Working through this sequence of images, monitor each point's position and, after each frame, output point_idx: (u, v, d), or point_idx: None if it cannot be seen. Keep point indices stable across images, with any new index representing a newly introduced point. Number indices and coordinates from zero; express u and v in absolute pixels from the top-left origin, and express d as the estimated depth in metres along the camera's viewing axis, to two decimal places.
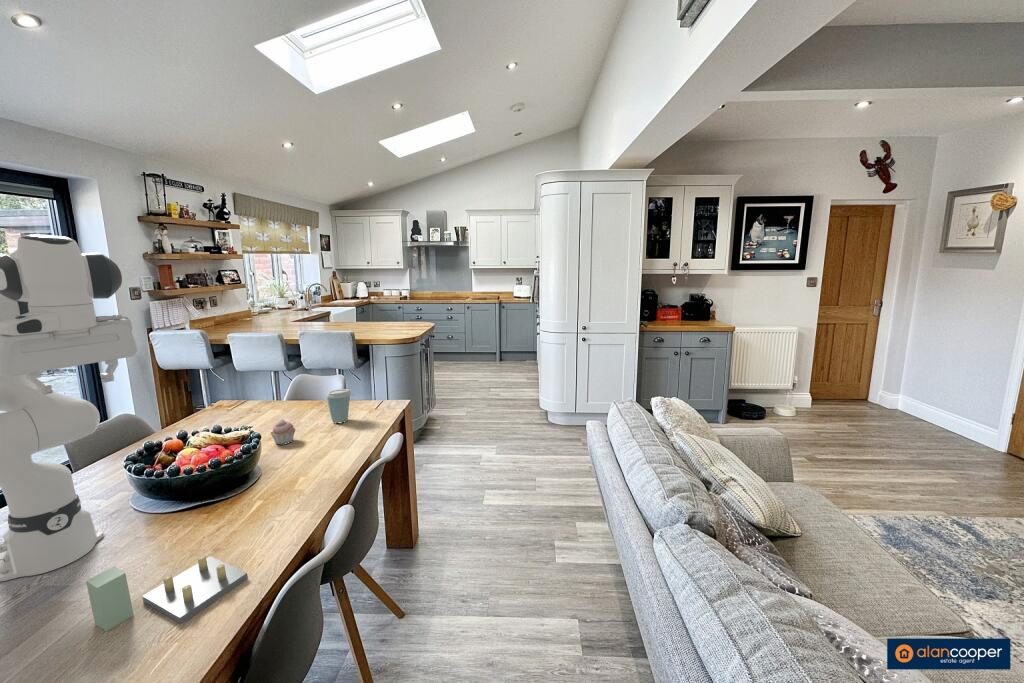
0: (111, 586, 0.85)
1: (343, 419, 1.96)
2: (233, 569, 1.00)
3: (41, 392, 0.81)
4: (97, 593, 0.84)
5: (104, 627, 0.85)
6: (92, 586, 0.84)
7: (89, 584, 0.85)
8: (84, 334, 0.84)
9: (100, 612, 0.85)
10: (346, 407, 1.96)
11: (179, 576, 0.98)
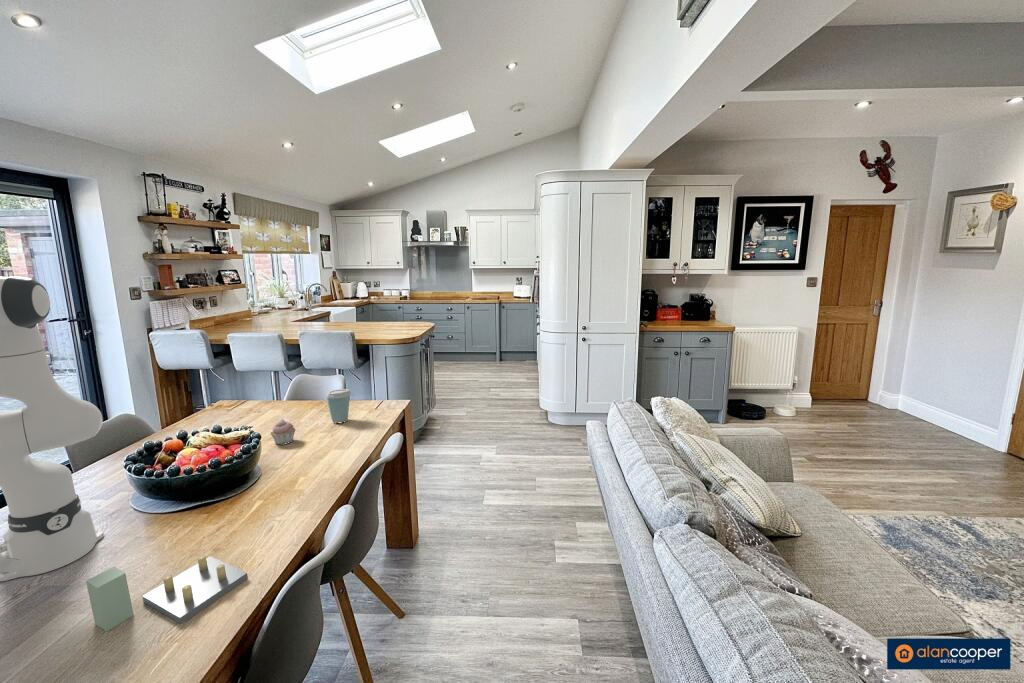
0: (111, 586, 0.85)
1: (343, 419, 1.96)
2: (233, 569, 1.00)
3: None
4: (97, 593, 0.84)
5: (104, 627, 0.85)
6: (92, 586, 0.84)
7: (89, 584, 0.85)
8: None
9: (100, 612, 0.85)
10: (346, 407, 1.96)
11: (179, 576, 0.98)
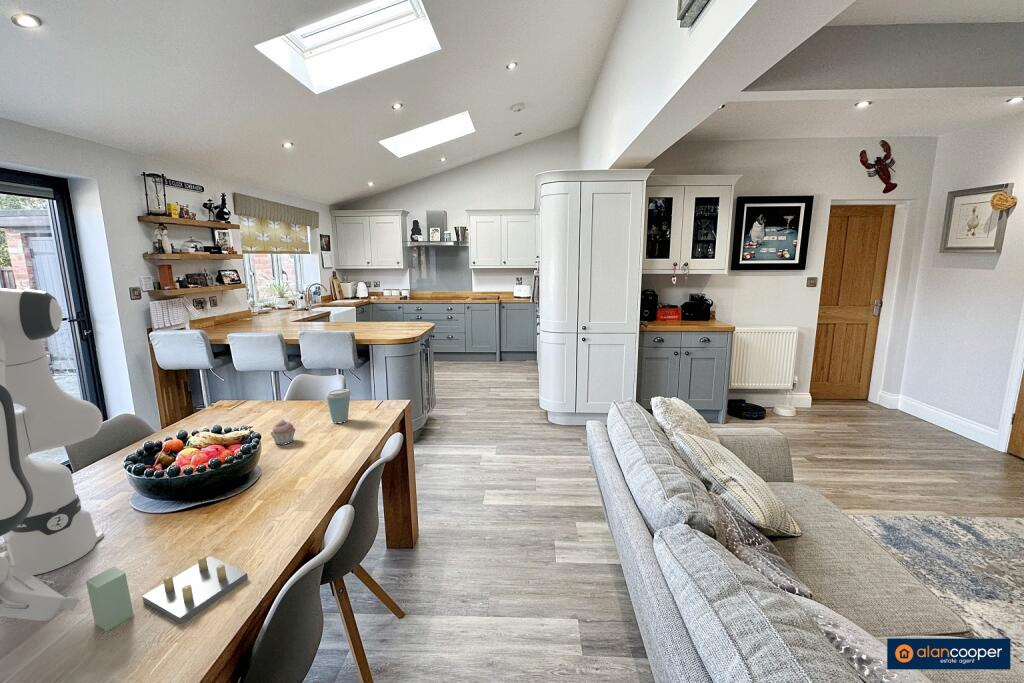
0: (111, 586, 0.85)
1: (343, 419, 1.96)
2: (233, 569, 1.00)
3: None
4: (97, 593, 0.84)
5: (104, 627, 0.85)
6: (92, 586, 0.84)
7: (89, 584, 0.85)
8: None
9: (100, 612, 0.85)
10: (346, 407, 1.96)
11: (179, 576, 0.98)
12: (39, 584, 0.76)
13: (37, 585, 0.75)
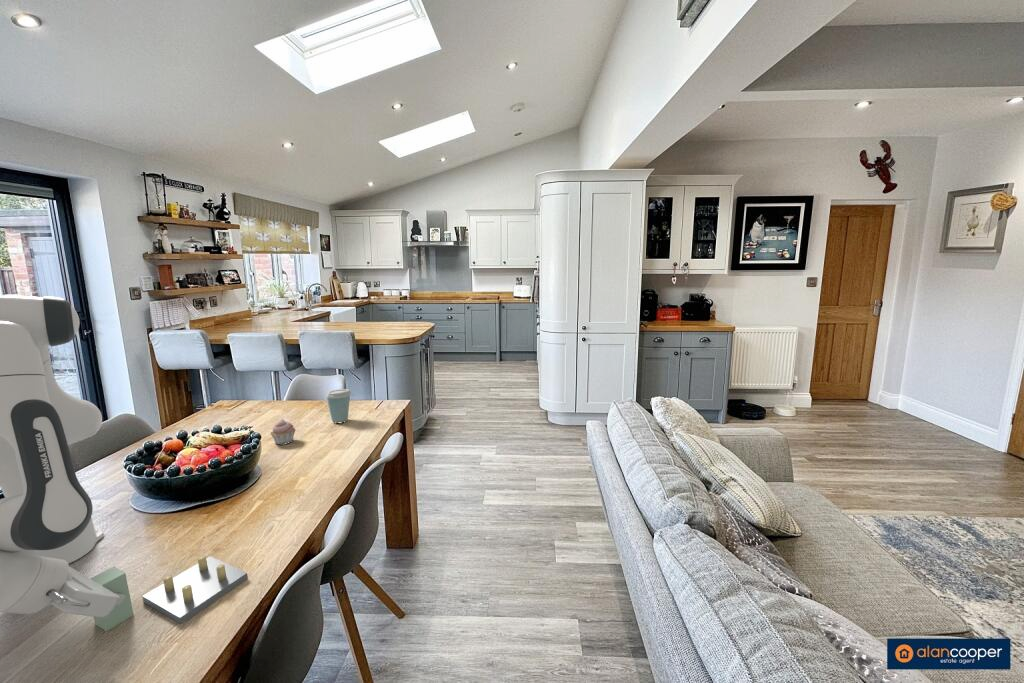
0: (111, 586, 0.85)
1: (343, 419, 1.96)
2: (233, 569, 1.00)
3: None
4: None
5: (104, 627, 0.85)
6: None
7: None
8: (46, 606, 0.77)
9: None
10: (346, 407, 1.96)
11: (179, 576, 0.98)
12: (95, 584, 0.83)
13: (93, 585, 0.82)
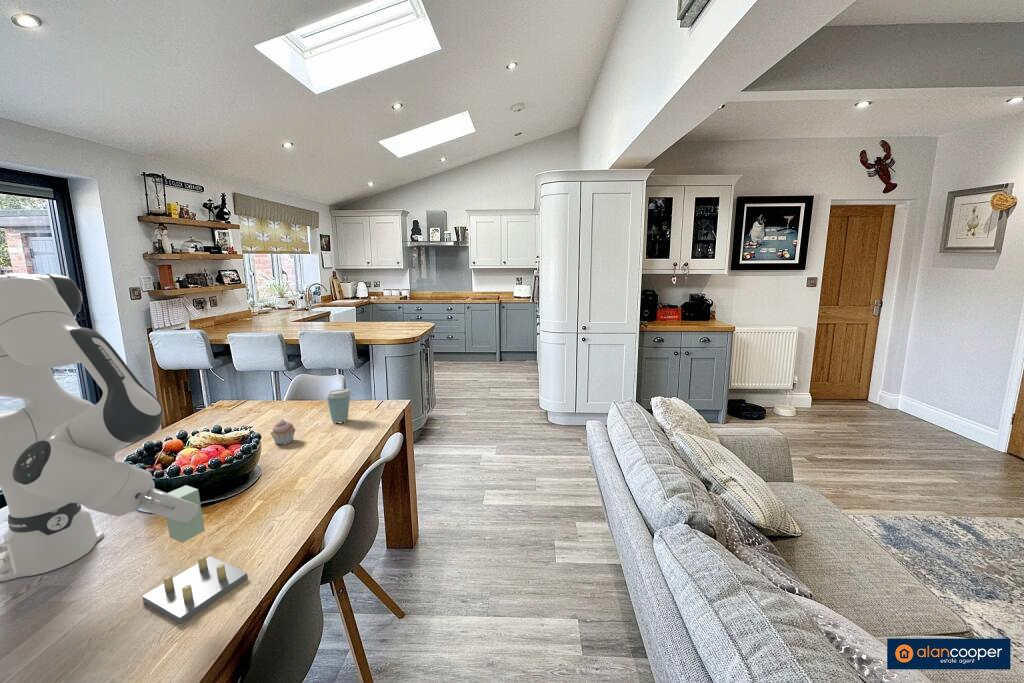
0: None
1: (343, 419, 1.96)
2: (233, 569, 1.00)
3: None
4: None
5: (180, 539, 0.90)
6: None
7: None
8: (133, 511, 0.83)
9: (176, 524, 0.90)
10: (346, 407, 1.96)
11: (179, 576, 0.98)
12: (173, 495, 0.88)
13: (173, 495, 0.87)
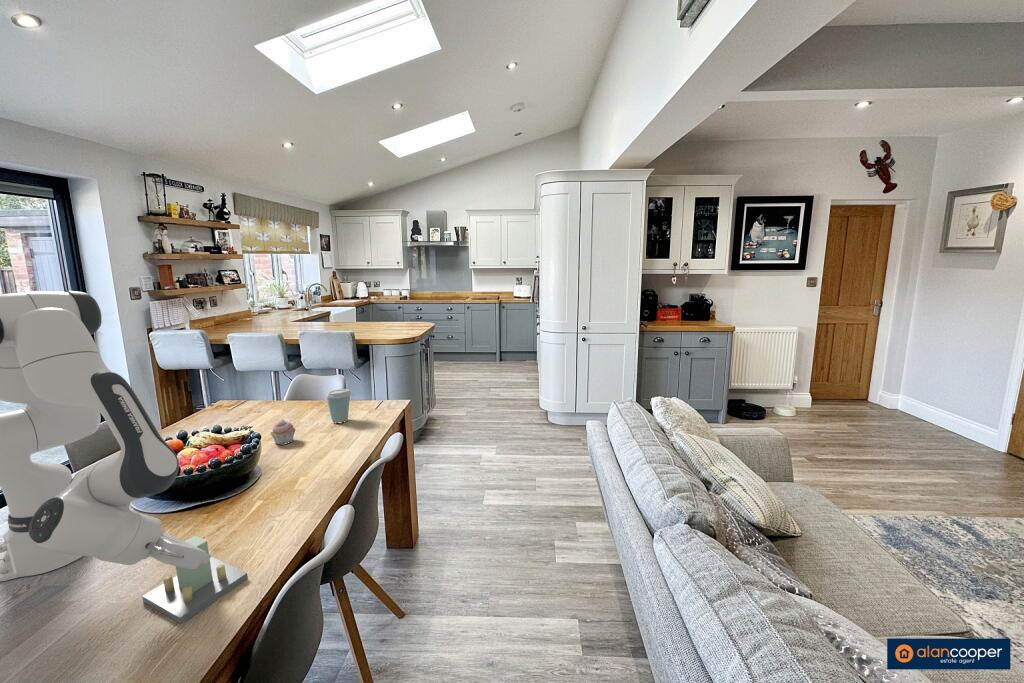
0: None
1: (343, 419, 1.96)
2: (233, 569, 1.00)
3: None
4: None
5: None
6: None
7: None
8: None
9: (186, 576, 0.92)
10: (346, 407, 1.96)
11: None
12: (182, 541, 0.90)
13: (181, 541, 0.89)
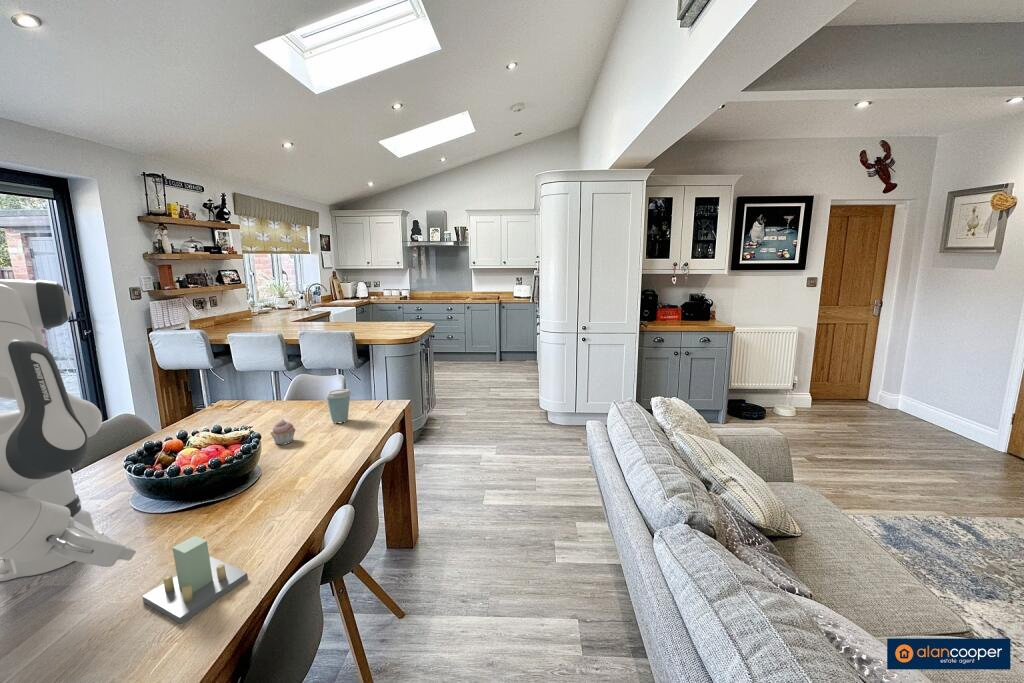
0: (195, 552, 0.93)
1: (343, 419, 1.96)
2: (233, 569, 1.00)
3: None
4: (184, 558, 0.91)
5: None
6: (179, 552, 0.92)
7: (176, 550, 0.92)
8: (46, 554, 0.72)
9: (186, 576, 0.92)
10: (346, 407, 1.96)
11: None
12: (98, 534, 0.77)
13: (97, 534, 0.76)
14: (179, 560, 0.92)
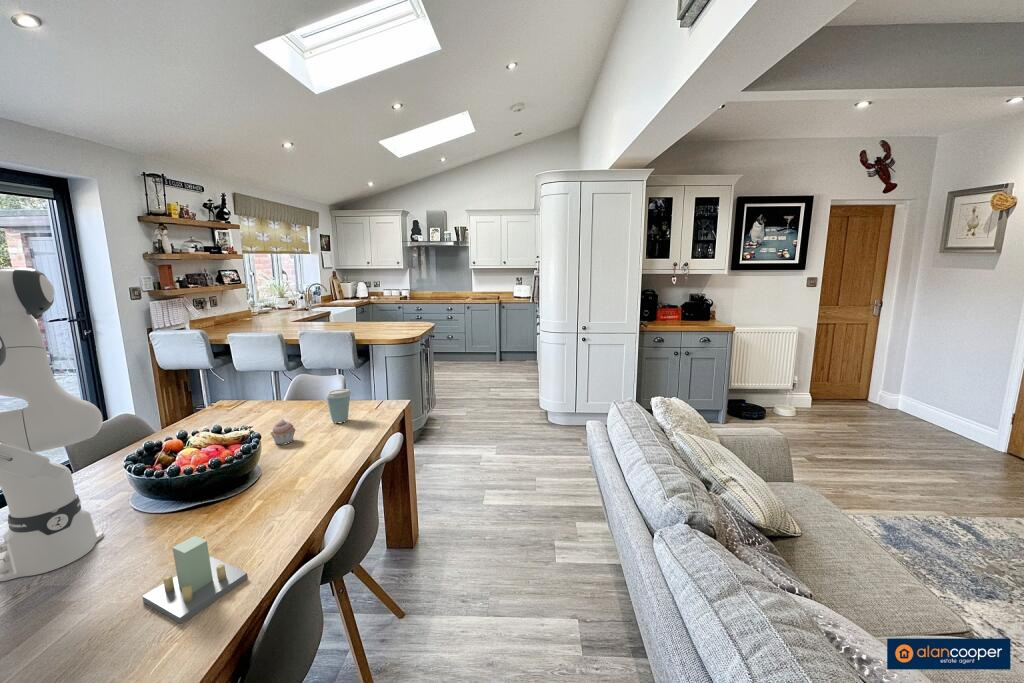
0: (195, 552, 0.93)
1: (343, 419, 1.96)
2: (233, 569, 1.00)
3: None
4: (184, 558, 0.91)
5: None
6: (179, 552, 0.92)
7: (176, 550, 0.92)
8: None
9: (186, 576, 0.92)
10: (346, 407, 1.96)
11: None
12: (24, 449, 0.75)
13: (22, 448, 0.75)
14: (179, 560, 0.92)
